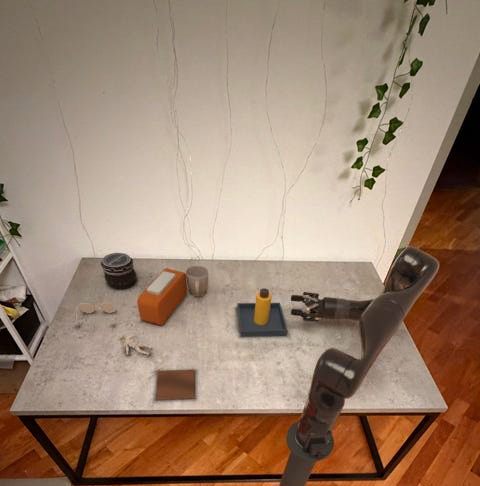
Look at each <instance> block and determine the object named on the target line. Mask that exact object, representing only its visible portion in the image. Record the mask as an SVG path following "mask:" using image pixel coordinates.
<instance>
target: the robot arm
mask: <svg viewBox="0 0 480 486" xmlns="http://www.w3.org/2000/svg"><path fill="white" fill-rule="evenodd" d="M439 269H440V261H439V260H438V259H437V258H436V257H434V256H433V255H431V254H429V253H428V252H426V251H424V250H422V249H420V248H418V247H416V246H414V245H413V246H412V245H410V246H409V245H408V246H407V247H405V248H404V249H403V250H402V251H401V252H400V253H399V255H398V256H397V257H396V258H395V261H394V262H393V264H392V265H391V267H390V270H389V272H388V274H387V277H386V279H385V283H384V286H383V288H382V291H381V292H380V294H379V295H377V296H376V297H375V298H372V299H365V300H364V299H363V300H354V299H346V298H341V297H330V296H323V298H322V299H320V298H319V296H320V294H319V293H317V292H309V291H303V292H302V294H292V295H290V301H291V302H298V303H300V302H301V303H303V304H304V306H305V307H306V308H305V309H300V308H291V310H290V315H291V316H295V317H301V318H302V321H303V322H316V323H317V322H320V320H321V319H325V320H335V321H336V320H338V321H342V320H344V321H345V320H346V321H354V322H357V321H358V335H359V341H360V358H355V357H354V356H352V355H350V354H348V353H346V352H344V351H342V350H340V349H337V348H335V347H329V348H327V349H326V350H325V351H323V353H322V354H321V355H320V356H319V358H318V360H317V362H316V364H315V366H314V370H313V372H312V377H311V381H310V385H309V389H308V391H307V392H308V393H307V398H306V401H305V404H304V405H303V406H304V407H303V410H302V412H301V415H300V418H299V420H298V421H299V425H298V428H297V430H296V433H295V441H296V443H297V445H298V446H299V447H300V448H301V449H302V450H303V452H304V453H309V452H310V454H311V455H316V457H317V458H318V459H320V457H321V455H325V454H326V452H327V450H328V448H327V444H328V442H329V440H330V438H331V436H332V435H333V432H332V431H333V429H334V427H335V425H336V423H337V422H338V419H339V417H340V415H341V413H342V411H343V409H344V407H345V403H346V400H347V399H350V398H351V399H352V397H353V396H354V395H356V393H357V392H358V391H359V389H360V388H361V386H362V385H363V383H364V382H365V380H366V378H367V376H368V375H369V373H370V372H371V369H372V368H373V366H374V364H375V363H376V361H377V359H378V358H379V356H380V354H381V352H382V351H383V350H384V348H386V346H387V345H388V343H389V342H390V340H391V339H392V338H393V336H394V335H395V333H396V332H397V331H398V330H399V328H400V326H401V325H402V323H403V322H404V320H405V319H406V317H407V315H408V314H409V312H410V310H411V309H412V307H413V306H414V304H415V303H416V301H417V300H418V299H419V297H420V296H421V295H422V294H423V292H424V291H425V290H426V289H427V287H428V286H429V285H430V283H432V281H433V280H434V279H435V277H436V275H437V273H438V271H439ZM403 286H404V287H403Z"/></svg>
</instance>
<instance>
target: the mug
mask: <svg viewBox="0 0 480 486" xmlns="http://www.w3.org/2000/svg"><path fill="white" fill-rule="evenodd" d="M185 274H186V280H187V287H188V288H189V290H190V292H191V294H192V296H193V297H202V296H204V295H205V293H206V290H207V288H208V285H209V270H208V269H207V268H206V266H202V265H191V266H189V267H188V268H187V269H186V271H185Z"/></svg>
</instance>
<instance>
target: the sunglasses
mask: <svg viewBox="0 0 480 486" xmlns="http://www.w3.org/2000/svg"><path fill="white" fill-rule="evenodd" d="M98 307H99V310H100V312H105V313H109V314H110V313H113V315H115V312H116V305H115V304H113V303H112V302H101V303H100V304H98ZM78 308H79V309H80V311H82V312H84V313H86V314H92V313H94V312H95V311H96V306H95V305H94V304H92V303H88V302H80V303H79V305H77V306H76V310H78ZM77 316H78V315H77V314H76V317H75V323H76V325H77V327H79V325H78V324H79V323H78V320H77V319H78V317H77ZM114 322H115V317H113V319H112V323H113V327H114V325H115V324H114Z"/></svg>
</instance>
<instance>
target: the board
mask: <svg viewBox="0 0 480 486" xmlns="http://www.w3.org/2000/svg"><path fill="white" fill-rule="evenodd" d="M195 388H196V387H195V369H175V370H173V369H172V370H157V377H156V388H155V389H156V390H155V401H168V400H169V401H171V400H173V401H174V400H176V401H177V400H195V399H196V397H195V395H196V394H195V390H196V389H195Z"/></svg>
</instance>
